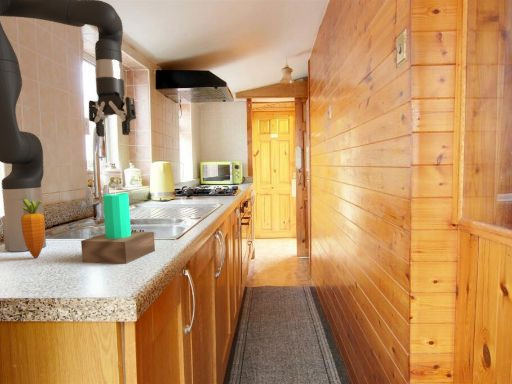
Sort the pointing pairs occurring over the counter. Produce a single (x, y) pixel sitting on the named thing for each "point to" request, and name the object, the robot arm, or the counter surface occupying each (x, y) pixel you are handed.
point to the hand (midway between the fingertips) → (113, 135)
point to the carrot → (33, 228)
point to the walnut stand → (117, 248)
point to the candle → (116, 215)
